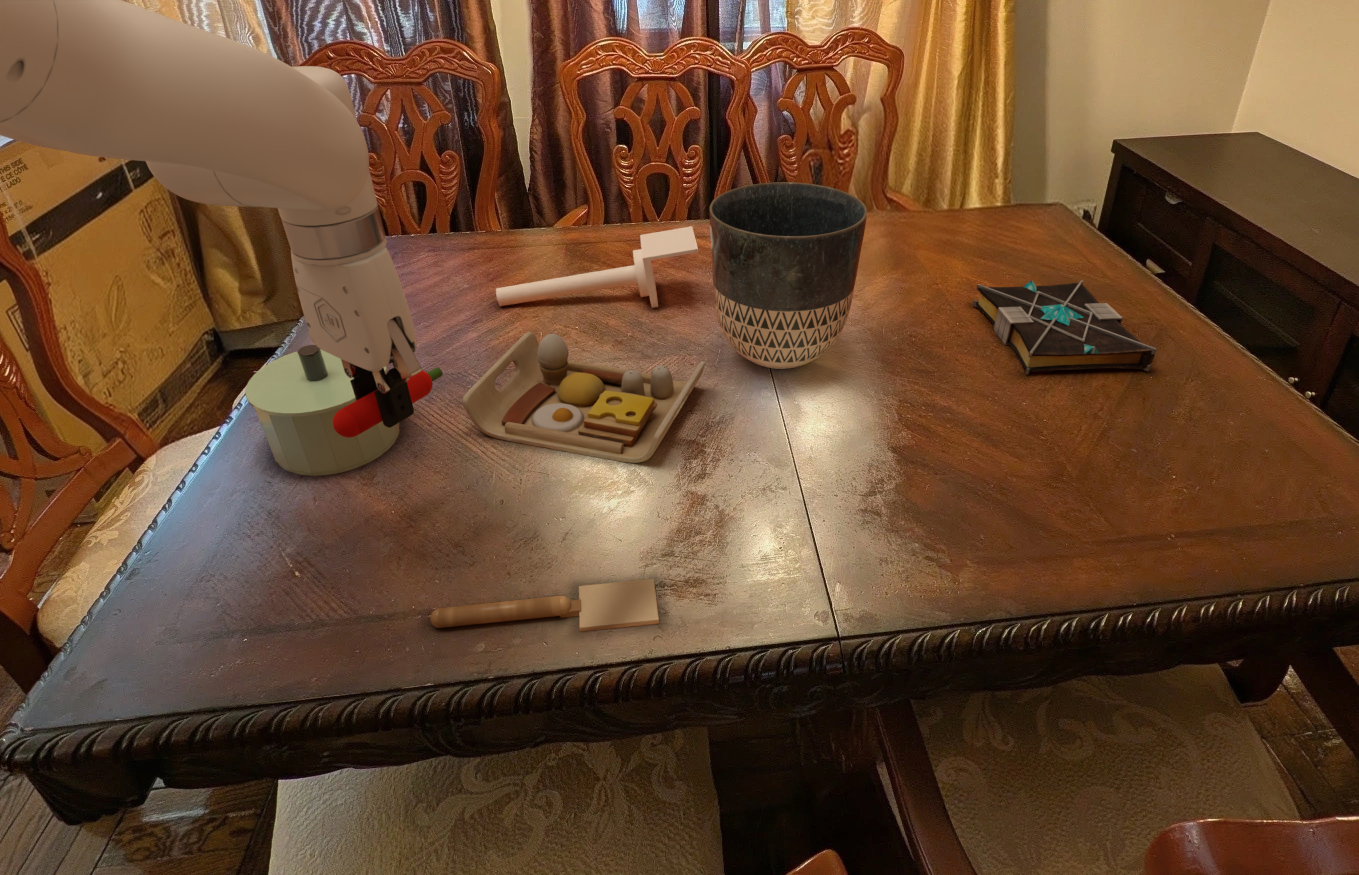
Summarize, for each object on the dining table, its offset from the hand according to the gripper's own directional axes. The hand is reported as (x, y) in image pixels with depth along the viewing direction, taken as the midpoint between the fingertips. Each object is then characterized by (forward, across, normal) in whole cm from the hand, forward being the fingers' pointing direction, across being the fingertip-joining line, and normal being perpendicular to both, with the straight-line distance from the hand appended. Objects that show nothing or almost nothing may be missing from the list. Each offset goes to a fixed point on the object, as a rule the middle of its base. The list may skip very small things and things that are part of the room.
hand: (387, 413), depth 77 cm
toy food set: (+14, +2, +26) cm, 30 cm away
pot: (+14, -20, +5) cm, 25 cm away
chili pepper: (0, 0, 0) cm, 0 cm away
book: (+14, +45, +78) cm, 91 cm away
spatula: (+14, +21, -2) cm, 25 cm away
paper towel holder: (+14, -18, +52) cm, 57 cm away
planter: (+14, +15, +52) cm, 55 cm away
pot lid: (+6, -20, +5) cm, 22 cm away
